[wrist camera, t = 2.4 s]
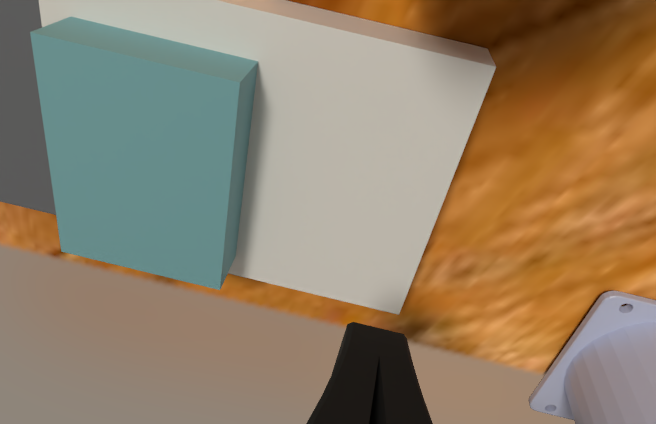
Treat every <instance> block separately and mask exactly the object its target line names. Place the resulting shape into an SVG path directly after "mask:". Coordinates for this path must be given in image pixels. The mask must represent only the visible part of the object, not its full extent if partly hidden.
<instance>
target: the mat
mask: <svg viewBox="0 0 656 424" xmlns="http://www.w3.org/2000/svg"><path fill="white" fill-rule="evenodd" d="M39 28H42V24H41V16H40V8H39V0H0V201H1V202H5V203H9V204H13V205H18V206H22V207H26V208H30V209H34V210H38V211H42V212H46V213H51V214H55V215H56V209H55V202H54V195H53V188H52V181H51V174H50V167H49V160H48V153H47V146H46V140H45V133H44V126H43V119H42V112H41V105H40V98H39V91H38V84H37V77H36V70H35V63H34V56H33V49H32V42H31V35H30V32H32V31H34V30H37V29H39Z"/></svg>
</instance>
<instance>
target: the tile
mask: <svg viewBox="0 0 656 424" xmlns="http://www.w3.org/2000/svg"><path fill="white" fill-rule="evenodd" d="M30 35H31V42H32V49H33V56H34V63H35V70H36V77H37V84H38V91H39V98H40V105H41V112H42V119H43V126H44V133H45V140H46V146H47V153H48V160H49V167H50V174H51V181H52V188H53V195H54V202H55V209H56V216H57V223H58V230H59V237H60V244H61V251H62V252H66V253H70V254H74V255H78V256H82V257H86V258H91V259H95V260H99V261H103V262H107V263H111V264H115V265H119V266H124V267H128V268H132V269H136V270H140V271H144V272H148V273H152V274H157V275H161V276H165V277H169V278H173V279H177V280H181V281H185V282H190V283H194V284H198V285H202V286H206V287H210V288H214V289H218V290H220V289H221V286H222V284H223V282H224V280H225V278H226V276H227V274H228V272H229V269H230V267H231V265H232V263H233V261H234V259H235V257H236V249H237V241H238V232H239V223H240V214H241V206H242V197H243V188H244V180H245V171H246V162H247V154H248V145H249V136H250V128H251V119H252V110H253V102H254V93H255V84H256V76H257V67H258V61H255V60H251V59H246V58H242V57H238V56H234V55H230V54H226V53H221V52H217V51H213V50H209V49H205V48H200V47H196V46H192V45H188V44H184V43H180V42H175V41H171V40H167V39H163V38H159V37H155V36H150V35H146V34H142V33H138V32H134V31H130V30H125V29H121V28H117V27H113V26H109V25H105V24H100V23H96V22H92V21H88V20H84V19H80V18H75V17H68V18H65V19H63V20H60V21H58V22H55V23H52V24H50V25H47V26H45V27H42V28H39V29H37V30H34V31H32V32H30Z"/></svg>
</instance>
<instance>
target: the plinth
mask: <svg viewBox="0 0 656 424" xmlns="http://www.w3.org/2000/svg"><path fill="white" fill-rule="evenodd" d="M39 8H40V16H41V24H42V27H45V26H47V25H50V24H52V23H55V22H58V21H60V20H63V19H65V18H68V17H75V18H80V19H84V20H88V21H92V22H96V23H100V24H105V25H109V26H113V27H117V28H121V29H125V30H130V31H134V32H138V33H142V34H146V35H150V36H155V37H159V38H163V39H167V40H171V41H175V42H180V43H184V44H188V45H192V46H196V47H200V48H205V49H209V50H213V51H217V52H221V53H226V54H230V55H234V56H238V57H242V58H246V59H251V60H255V61H258V67H257V76H256V84H255V93H254V102H253V110H252V119H251V128H250V136H249V145H248V154H247V162H246V171H245V180H244V188H243V197H242V206H241V214H240V223H239V232H238V241H237V249H236V257H235V259H234V261H233V263H232V265H231V267H230V269H229V272H228V273H229V274H233V275H237V276H241V277H246V278H250V279H254V280H258V281H262V282H266V283H270V284H274V285H279V286H283V287H287V288H291V289H295V290H299V291H303V292H307V293H312V294H316V295H320V296H324V297H328V298H332V299H336V300H340V301H345V302H349V303H353V304H357V305H361V306H365V307H369V308H373V309H378V310H382V311H386V312H390V313H394V314H398V315H399V313H400V311H401V308H402V306H403V303H404V301H405V298H406V296H407V293H408V291H409V288H410V285H411V283H412V280H413V278H414V275H415V273H416V270H417V268H418V265H419V263H420V260H421V257H422V255H423V252H424V250H425V247H426V245H427V242H428V240H429V237H430V235H431V232H432V229H433V227H434V224H435V222H436V219H437V217H438V214H439V212H440V209H441V207H442V204H443V201H444V199H445V196H446V194H447V191H448V189H449V186H450V184H451V181H452V179H453V176H454V173H455V171H456V168H457V166H458V163H459V161H460V158H461V156H462V153H463V151H464V148H465V145H466V143H467V140H468V138H469V135H470V133H471V130H472V128H473V125H474V123H475V120H476V117H477V115H478V112H479V110H480V107H481V105H482V102H483V100H484V97H485V94H486V92H487V89H488V87H489V84H490V82H491V79H492V77H493V74H494V72H495V69H496V65H495V63H494V61H493V59H492V57H491V55H490V53H489V51H488V49H487V48H483V47H479V46H475V45H471V44H467V43H463V42H458V41H454V40H450V39H446V38H442V37H437V36H433V35H429V34H425V33H421V32H416V31H412V30H408V29H404V28H400V27H396V26H391V25H387V24H383V23H379V22H375V21H370V20H366V19H362V18H358V17H354V16H350V15H345V14H341V13H337V12H333V11H329V10H324V9H320V8H316V7H312V6H308V5H303V4H299V3H295V2H291V1H287V0H39Z"/></svg>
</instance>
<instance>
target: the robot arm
mask: <svg viewBox="0 0 656 424" xmlns="http://www.w3.org/2000/svg"><path fill="white" fill-rule="evenodd" d="M623 304H627V305H626V306H621V305H623ZM529 403H530V407H531V408H532V409H533V410H536V411H539V412H543V413H547V414H551V415H556V416H559V417H564V418H568V419H572V420H574V421H575V424H656V300H653V299H648V298H644V297H640V296H636V295H632V294H628V293H624V292H619V291H608V292H605V293H603V294H602V295H601V296H600V297H599V298H598V300H597V301H596V303H595V304H594V306H593V307H592V308H591V310H590V311H589V313H588V314H587V316H586V317H585V318H584V320H583V321H582V323H581V324H580V326H579V327H578V328H577V330H576V331H575V333H574V334H573V336H572V337H571V338H570V340H569V341H568V343H567V344H566V346H565V347H564V348H563V350H562V351H561V353H560V354H559V356H558V357H557V358H556V360H555V361H554V363H553V364H552V366H551V367H550V368H549V370H548V371H547V373H546V374H545V376H544V377H543V379H542V380H541V381H540V383H539V384H538V386H537V387H536V389H535V390H534V391H533V393H532V394H531V396H530V397H529ZM307 424H433V423H432V421H431V418H430V415H429V413H428V410H427V407H426V404H425V401H424V398H423V395H422V392H421V389H420V386H419V383H418V379H417V376H416V373H415V369H414V366H413V362H412V359H411V355H410V351H409V347H408V342H407V338H406V337H405V335H404V334H401V333H396V332H392V331H388V330H384V329H380V328H376V327H372V326H367V325H363V324H359V323H355V322H352V323H350V324H347V328H346V331H345V334H344V337H343V341H342V343H341V347H340V350H339V353H338V356H337V360H336V363H335V366H334V369H333V372H332V376H331V378H330V380H329V382H328V384H327V386H326V388H325V391H324V393H323V395H322V397H321V399H320V400H319V402H318V404H317V406H316V408H315V409H314V411H313V413H312V415H311V417H310V418H309V420H308V422H307Z"/></svg>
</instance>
